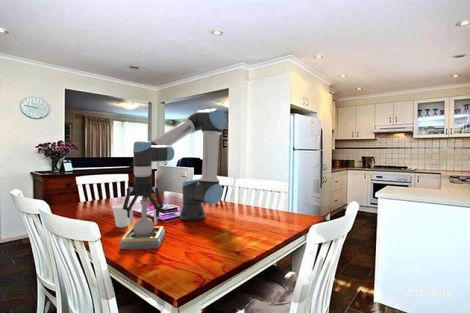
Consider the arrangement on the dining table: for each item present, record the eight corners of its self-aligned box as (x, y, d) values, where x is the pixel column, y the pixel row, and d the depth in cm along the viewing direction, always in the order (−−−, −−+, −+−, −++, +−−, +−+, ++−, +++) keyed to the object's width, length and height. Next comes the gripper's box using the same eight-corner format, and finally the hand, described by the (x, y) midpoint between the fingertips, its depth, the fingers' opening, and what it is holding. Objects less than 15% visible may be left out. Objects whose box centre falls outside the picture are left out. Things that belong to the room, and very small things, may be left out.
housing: (164, 235, 127) (164, 226, 127) (158, 248, 111) (158, 237, 111) (130, 236, 125) (130, 227, 125) (119, 249, 110) (119, 239, 109)
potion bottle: (157, 233, 121) (158, 195, 120) (145, 239, 113) (146, 199, 111) (142, 229, 124) (143, 192, 123) (128, 236, 116) (129, 196, 114)
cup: (125, 229, 136) (124, 208, 135) (108, 228, 138) (107, 207, 137) (135, 223, 145) (135, 204, 145) (120, 222, 147) (119, 203, 147)
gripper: (169, 174, 122) (170, 221, 123) (119, 174, 119) (120, 222, 121) (167, 176, 114) (167, 226, 116) (113, 176, 112) (114, 227, 113)
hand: (143, 224), depth 118 cm, fingers open, 10 cm apart
